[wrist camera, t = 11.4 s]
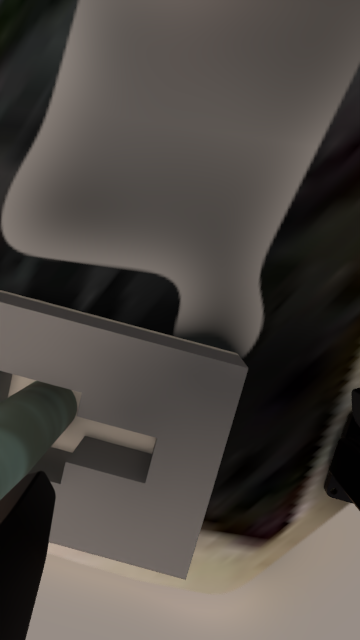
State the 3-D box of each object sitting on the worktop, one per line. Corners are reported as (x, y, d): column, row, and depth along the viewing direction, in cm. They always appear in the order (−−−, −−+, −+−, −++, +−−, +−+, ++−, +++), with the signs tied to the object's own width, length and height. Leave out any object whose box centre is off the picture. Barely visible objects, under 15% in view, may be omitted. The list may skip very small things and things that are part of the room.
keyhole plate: (237, 353, 21) (248, 368, 17) (186, 527, 22) (185, 579, 18) (-7, 288, 21) (-53, 287, 17) (-41, 465, 22) (-91, 503, 18)
